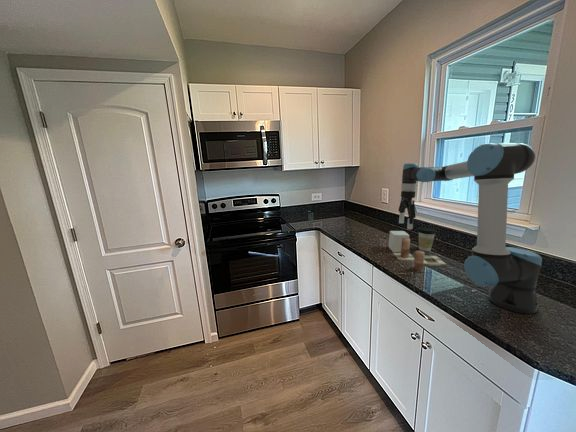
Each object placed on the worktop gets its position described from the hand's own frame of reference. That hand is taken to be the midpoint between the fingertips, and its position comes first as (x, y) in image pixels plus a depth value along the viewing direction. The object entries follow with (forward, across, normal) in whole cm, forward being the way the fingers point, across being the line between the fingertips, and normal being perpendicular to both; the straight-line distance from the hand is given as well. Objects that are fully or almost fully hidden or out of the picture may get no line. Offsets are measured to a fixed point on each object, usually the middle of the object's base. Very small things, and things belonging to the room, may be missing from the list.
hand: (405, 226), depth 148 cm
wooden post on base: (+19, -4, 0) cm, 20 cm away
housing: (+19, +8, 0) cm, 21 cm away
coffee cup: (+19, +9, -16) cm, 27 cm away
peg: (+20, -20, -1) cm, 28 cm away
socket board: (+19, -10, -11) cm, 25 cm away
